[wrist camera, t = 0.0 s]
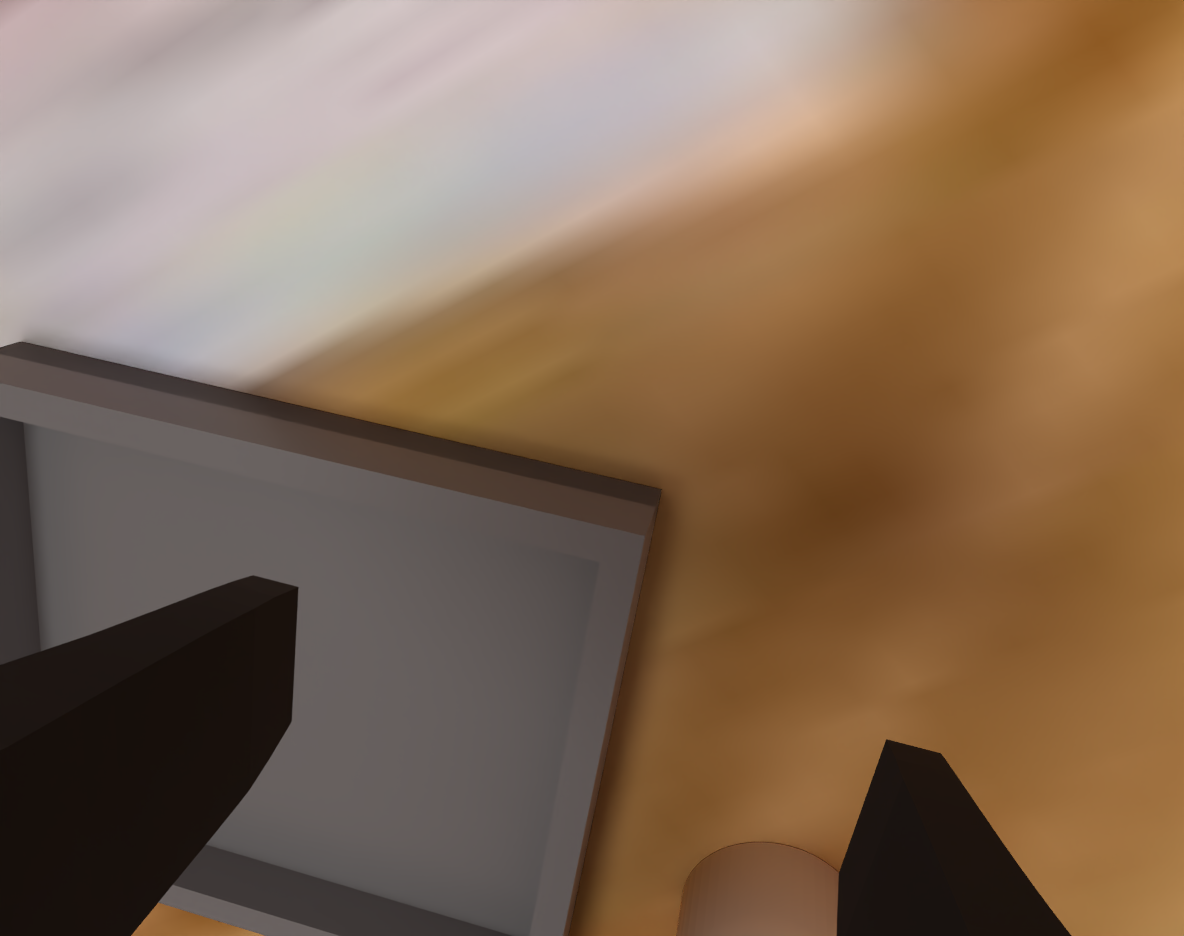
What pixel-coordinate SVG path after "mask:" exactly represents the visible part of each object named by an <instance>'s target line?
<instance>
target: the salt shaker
mask: <svg viewBox="0 0 1184 936" xmlns="http://www.w3.org/2000/svg"><path fill="white" fill-rule="evenodd" d="M838 881H839V873H838V872H837V871H836V870H835V869H834V868H832V867H831V866H830V865H828V864H827V863H826V862H824V861H823V860H821V859H819V858H818V857H816V856H814V855H812V854H810V853H807V852H805V851H803V850H800V849H797V848H794V847H791V846H786V845H782V844H776V843H767V842H752V843H742V844H738V845H733V846H729V847H726V848H723V849H721V850H719V851H717V852H714V853H712V854H711V855H709V856H708V857H706V858H705V859H703V860H702V861H701V862H700V863H699V864H698V865H697V866H696V867H695V868H694V869H693V871H692V872H691V873H690V875H689V877H688V878H687V880H686V883H685V885H684V888H683V893H682V899H681V906H680V913H679V920H678V927H677V934H676V936H837V906H838Z"/></svg>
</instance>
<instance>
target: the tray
mask: <svg viewBox="0 0 1184 936" xmlns="http://www.w3.org/2000/svg"><path fill="white" fill-rule="evenodd" d="M661 490H662V489H657V488H653V487H648V486H644V485H640V484H635V483H631V482H627V481H622V480H618V479H614V478H609V477H605V476H601V475H596V474H592V473H588V472H583V471H579V470H575V469H570V468H566V467H562V466H557V465H553V464H549V463H544V462H540V461H536V460H531V459H527V458H523V457H518V456H514V455H510V454H505V453H501V452H497V451H492V450H488V449H484V448H479V447H475V446H471V445H466V444H462V443H458V442H453V441H449V440H445V439H440V438H436V437H432V436H427V435H423V434H419V433H414V432H410V431H406V430H401V429H397V428H393V427H388V426H384V425H380V424H375V423H371V422H367V421H362V420H358V419H354V418H349V417H345V416H341V415H336V414H332V413H328V412H323V411H319V410H315V409H310V408H306V407H302V406H297V405H293V404H289V403H284V402H280V401H276V400H271V399H267V398H263V397H258V396H254V395H250V394H245V393H241V392H237V391H232V390H228V389H224V388H219V387H215V386H211V385H206V384H202V383H198V382H193V381H189V380H185V379H180V378H176V377H172V376H167V375H163V374H159V373H154V372H150V371H146V370H141V369H137V368H133V367H128V366H124V365H120V364H115V363H111V362H107V361H102V360H98V359H94V358H89V357H85V356H81V355H76V354H72V353H68V352H63V351H59V350H55V349H50V348H46V347H41V346H37V345H33V344H28V343H24V342H17V343H14V344H11V345H7V346H4V347H0V665H1V664H4V663H7V662H10V661H13V660H16V659H19V658H22V657H25V656H28V655H31V654H34V653H37V652H40V651H43V650H46V649H49V648H52V647H55V646H58V645H61V644H64V643H67V642H70V641H73V640H76V639H79V638H82V637H85V636H87V635H90V634H93V633H96V632H99V631H101V630H104V629H107V628H109V627H112V626H115V625H117V624H120V623H123V622H125V621H128V620H131V619H133V618H136V617H139V616H141V615H144V614H146V613H149V612H152V611H154V610H157V609H160V608H162V607H165V606H168V605H170V604H173V603H175V602H178V601H181V600H183V599H186V598H189V597H191V596H194V595H196V594H199V593H202V592H204V591H207V590H210V589H213V588H215V587H218V586H221V585H224V584H227V583H229V582H232V581H235V580H239V579H242V578H245V577H249V576H252V575H254V576H258V577H262V578H266V579H270V580H274V581H278V582H281V583H285V584H289V585H293V586H297V587H299V589H298V608H297V628H296V648H295V668H294V688H293V708H292V722H291V724H290V726H289V727H288V729H287V731H286V732H285V734H284V736H283V737H282V739H281V741H280V742H279V744H278V746H277V747H276V749H275V751H274V752H273V754H272V756H271V757H270V759H269V761H268V762H267V764H266V765H265V767H264V768H263V770H262V771H261V773H260V775H259V776H258V778H257V779H256V781H255V782H254V784H253V786H252V787H251V789H250V790H249V791H248V793H247V794H246V795H245V797H244V798H243V799H242V800H241V802H240V803H239V804H238V805H237V807H236V808H235V809H234V810H233V812H232V813H231V814H230V815H229V817H228V818H227V819H226V820H225V822H224V823H223V824H222V825H221V826H220V828H219V829H218V830H217V831H216V833H215V834H214V835H213V836H212V838H211V839H210V840H209V841H208V843H207V844H206V845H205V846H204V847H203V849H202V850H201V851H200V852H199V854H198V855H197V856H196V857H195V858H194V860H193V861H192V862H191V863H190V864H189V866H188V867H187V868H186V869H185V870H184V872H183V873H182V874H181V875H180V877H179V878H178V879H177V880H176V881H175V883H174V884H173V885H172V886H171V887H170V889H169V890H168V891H167V892H166V894H165V895H164V896H163V897H162V898H161V900H160V901H159V903H162V904H165V905H168V906H171V907H175V908H178V909H181V910H184V911H188V912H191V913H194V914H197V915H201V916H204V917H207V918H210V919H214V920H217V921H220V922H223V923H227V924H230V925H233V926H236V927H240V928H243V929H246V930H249V931H253V932H256V933H259V934H262V935H265V936H569V931H570V926H571V922H572V917H573V912H574V907H575V902H576V898H577V893H578V888H579V883H580V878H581V874H582V869H583V864H584V859H585V854H586V850H587V845H588V840H589V835H590V831H591V826H592V821H593V816H594V811H595V807H596V802H597V797H598V792H599V787H600V783H601V778H602V773H603V768H604V763H605V759H606V754H607V749H608V744H609V740H610V735H611V730H612V725H613V720H614V716H615V711H616V706H617V701H618V696H619V692H620V687H621V682H622V677H623V672H624V668H625V663H626V658H627V653H628V649H629V644H630V639H631V634H632V629H633V625H634V620H635V615H636V610H637V605H638V601H639V596H640V591H641V586H642V581H643V577H644V572H645V567H646V562H647V558H648V553H649V548H650V543H651V538H652V534H653V529H654V524H655V519H656V514H657V510H658V505H659V500H660V495H661Z"/></svg>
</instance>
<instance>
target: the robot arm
mask: <svg viewBox="0 0 1184 936" xmlns="http://www.w3.org/2000/svg"><path fill="white" fill-rule="evenodd" d="M298 589H299V587H297V586H293V585H289V584H285V583H281V582H278V581H274V580H270V579H266V578H262V577H258V576H254V575H252V576H249V577H245V578H242V579H239V580H235V581H232V582H229V583H227V584H224V585H221V586H218V587H215V588H213V589H210V590H207V591H204V592H202V593H199V594H196V595H194V596H191V597H189V598H186V599H183V600H181V601H178V602H175V603H173V604H170V605H168V606H165V607H162V608H160V609H157V610H154V611H152V612H149V613H146V614H144V615H141V616H139V617H136V618H133V619H131V620H128V621H125V622H123V623H120V624H117V625H115V626H112V627H109V628H107V629H104V630H101V631H99V632H96V633H93V634H90V635H87V636H85V637H82V638H79V639H76V640H73V641H70V642H67V643H64V644H61V645H58V646H55V647H52V648H49V649H46V650H43V651H40V652H37V653H34V654H31V655H28V656H25V657H22V658H19V659H16V660H13V661H10V662H7V663H4V664H1V665H0V936H131V935H132V934H133V932H134V931H135V930H136V929H137V928H138V926H139V925H140V924H141V923H142V922H143V920H144V919H145V918H146V917H147V915H148V914H149V913H150V912H151V911H152V909H153V908H154V907H155V906H156V904H157V903H158V902H159V901H160V900H161V898H162V897H163V896H164V895H165V894H166V892H167V891H168V890H169V889H170V887H171V886H172V885H173V884H174V883H175V881H176V880H177V879H178V878H179V877H180V875H181V874H182V873H183V872H184V870H185V869H186V868H187V867H188V866H189V864H190V863H191V862H192V861H193V860H194V858H195V857H196V856H197V855H198V854H199V852H200V851H201V850H202V849H203V847H204V846H205V845H206V844H207V843H208V841H209V840H210V839H211V838H212V836H213V835H214V834H215V833H216V831H217V830H218V829H219V828H220V826H221V825H222V824H223V823H224V822H225V820H226V819H227V818H228V817H229V815H230V814H231V813H232V812H233V810H234V809H235V808H236V807H237V805H238V804H239V803H240V802H241V800H242V799H243V798H244V797H245V795H246V794H247V793H248V791H249V790H250V789H251V787H252V786H253V784H254V782H255V781H256V779H257V778H258V776H259V775H260V773H261V771H262V770H263V768H264V767H265V765H266V764H267V762H268V761H269V759H270V757H271V756H272V754H273V752H274V751H275V749H276V747H277V746H278V744H279V742H280V741H281V739H282V737H283V736H284V734H285V732H286V731H287V729H288V727H289V726H290V724H291V722H292V708H293V688H294V668H295V648H296V628H297V608H298ZM837 936H1071V935H1070V934H1069V932H1068V931H1067V930H1066V928H1065V927H1064V926H1063V924H1062V923H1061V922H1060V920H1059V919H1058V918H1057V917H1056V915H1055V914H1054V913H1053V911H1052V910H1051V909H1050V907H1049V906H1048V905H1047V903H1046V902H1045V901H1044V899H1043V898H1042V897H1041V895H1040V894H1039V893H1038V891H1037V890H1036V889H1035V887H1034V886H1033V885H1032V883H1031V882H1030V880H1029V879H1028V878H1027V876H1026V875H1025V873H1024V872H1023V871H1022V869H1021V868H1020V867H1019V865H1018V864H1017V862H1016V861H1015V860H1014V858H1013V857H1012V855H1011V854H1010V852H1009V851H1008V850H1007V848H1006V847H1005V845H1004V844H1003V843H1002V841H1001V840H1000V838H999V837H998V835H997V834H996V832H995V831H994V830H993V828H992V827H991V825H990V824H989V822H988V821H987V819H986V818H985V816H984V815H983V814H982V812H981V811H980V809H979V808H978V806H977V805H976V803H975V802H974V800H973V799H972V797H971V796H970V794H969V793H968V792H967V790H966V789H965V787H964V786H963V784H962V783H961V781H960V780H959V778H958V777H957V775H956V774H955V773H954V771H953V770H952V768H951V767H950V765H949V764H948V763H947V761H946V760H945V758H944V757H943V756H942V754H941V753H937V752H933V751H929V750H926V749H922V748H918V747H914V746H910V745H906V744H902V743H899V742H895V741H891V740H887V739H886V742H885V745H884V747H883V750H882V753H881V756H880V759H879V762H878V764H877V767H876V770H875V773H874V776H873V779H872V781H871V784H870V787H869V790H868V793H867V796H866V798H865V801H864V804H863V807H862V810H861V813H860V815H859V818H858V821H857V824H856V827H855V830H854V832H853V835H852V838H851V841H850V844H849V847H848V849H847V852H846V855H845V858H844V861H843V864H842V866H841V869H840V872H839V881H838V906H837Z"/></svg>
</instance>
